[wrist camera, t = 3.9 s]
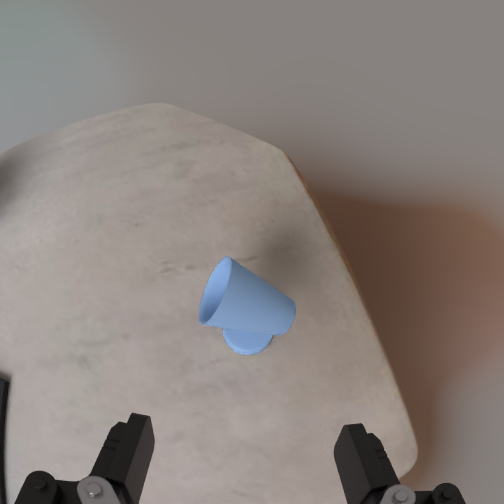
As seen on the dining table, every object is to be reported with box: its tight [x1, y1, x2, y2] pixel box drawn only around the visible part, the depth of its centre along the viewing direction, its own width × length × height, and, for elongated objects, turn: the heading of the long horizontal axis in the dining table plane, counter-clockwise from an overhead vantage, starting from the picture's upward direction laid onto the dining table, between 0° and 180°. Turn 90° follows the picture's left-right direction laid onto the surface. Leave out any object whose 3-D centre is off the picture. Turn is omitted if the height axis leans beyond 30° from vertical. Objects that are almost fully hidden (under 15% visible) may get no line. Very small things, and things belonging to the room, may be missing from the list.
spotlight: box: [199, 256, 296, 355], centre depth 22 cm, size 5×10×7 cm
